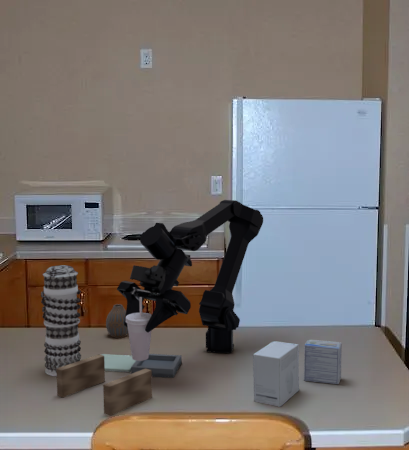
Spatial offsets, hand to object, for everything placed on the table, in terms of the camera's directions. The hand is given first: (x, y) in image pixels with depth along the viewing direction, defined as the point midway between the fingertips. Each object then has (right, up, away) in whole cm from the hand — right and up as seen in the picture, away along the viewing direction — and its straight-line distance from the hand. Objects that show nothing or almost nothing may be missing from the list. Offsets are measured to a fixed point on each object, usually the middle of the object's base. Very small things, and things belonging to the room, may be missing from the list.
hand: (135, 328), depth 144 cm
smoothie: (+1, -7, +2) cm, 7 cm away
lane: (-6, -14, -6) cm, 16 cm away
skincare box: (+31, -14, -6) cm, 34 cm away
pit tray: (+4, -11, +11) cm, 16 cm away
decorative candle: (-18, -12, +10) cm, 24 cm away
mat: (-7, -11, +14) cm, 19 cm away
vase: (-9, -8, +38) cm, 40 cm away
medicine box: (+42, -12, +4) cm, 44 cm away
